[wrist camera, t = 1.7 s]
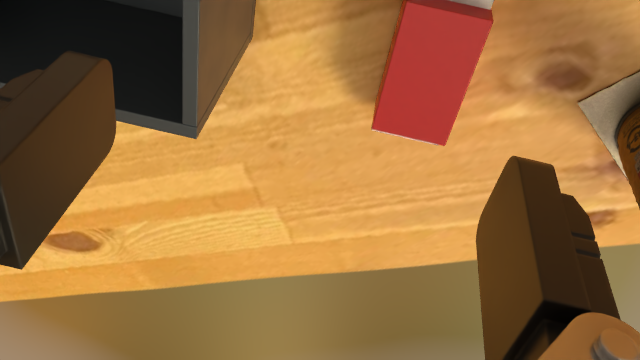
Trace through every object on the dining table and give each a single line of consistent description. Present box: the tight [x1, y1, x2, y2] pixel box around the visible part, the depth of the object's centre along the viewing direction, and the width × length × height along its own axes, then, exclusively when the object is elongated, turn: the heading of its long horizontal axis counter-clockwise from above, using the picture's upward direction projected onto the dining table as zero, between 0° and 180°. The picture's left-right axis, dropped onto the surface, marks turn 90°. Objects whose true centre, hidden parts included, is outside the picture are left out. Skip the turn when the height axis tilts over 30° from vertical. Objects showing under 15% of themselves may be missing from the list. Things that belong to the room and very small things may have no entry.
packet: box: [372, 0, 494, 146], centre depth 36 cm, size 11×5×4 cm, turn 171°
